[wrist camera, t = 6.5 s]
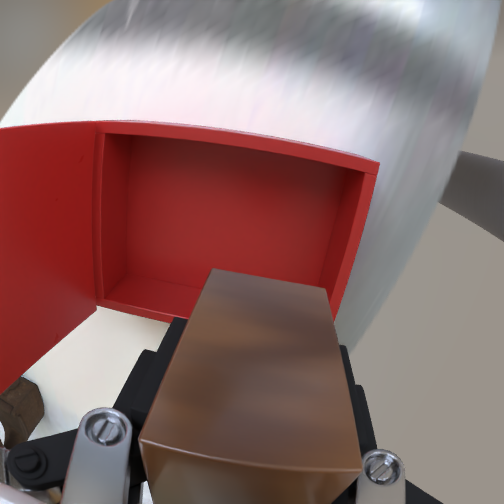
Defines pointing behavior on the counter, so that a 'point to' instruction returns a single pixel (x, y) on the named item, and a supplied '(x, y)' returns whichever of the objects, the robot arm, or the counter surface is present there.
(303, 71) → the counter surface
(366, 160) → the red shallow rectangular box
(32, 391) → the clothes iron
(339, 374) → the block
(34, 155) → the lid
